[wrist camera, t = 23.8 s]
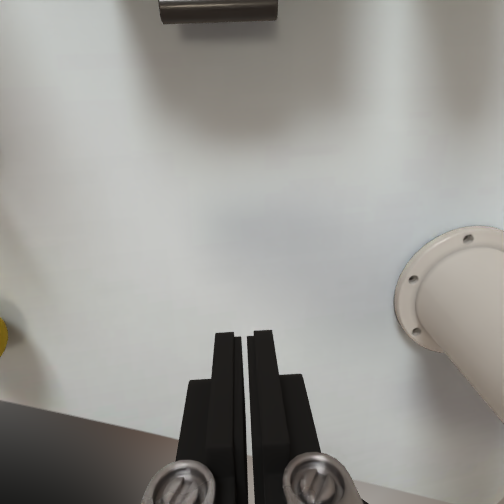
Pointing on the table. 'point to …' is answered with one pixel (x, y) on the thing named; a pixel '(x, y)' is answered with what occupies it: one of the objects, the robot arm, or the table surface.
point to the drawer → (217, 11)
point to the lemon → (3, 336)
